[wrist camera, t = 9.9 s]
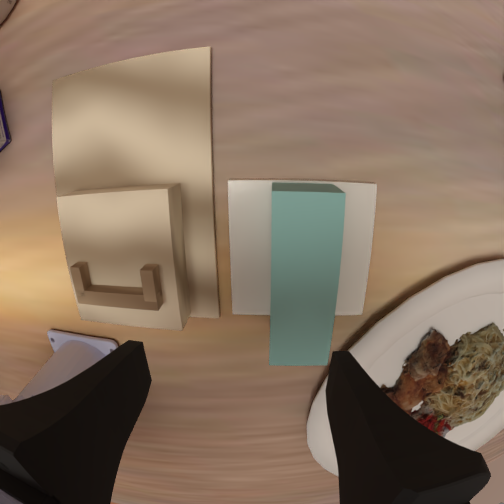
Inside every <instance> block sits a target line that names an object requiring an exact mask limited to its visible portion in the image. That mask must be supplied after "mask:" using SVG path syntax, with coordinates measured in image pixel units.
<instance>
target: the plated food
mask: <svg viewBox="0 0 504 504" xmlns="http://www.w3.org/2000/svg"><path fill="white" fill-rule="evenodd" d="M347 351H349V352H350V353H351V354H352V355H353V357H354V358H355V359H356V360H357V362H358V363H359V364H360V365H361V367H362V368H363V369H364V370H365V371H366V373H367V374H368V375H369V376H370V377H371V378H372V380H373V381H374V382H375V383H376V384H377V385H378V386H379V387H380V388H381V390H382V391H383V392H384V393H385V394H386V395H387V396H388V397H389V398H390V399H391V400H392V401H393V402H394V403H396V404H397V405H398V406H399V407H400V408H401V409H403V410H404V411H405V412H406V413H407V414H409V415H410V416H411V417H412V418H414V419H415V420H417V421H418V422H419V423H421V424H422V425H424V426H425V427H427V428H428V429H430V430H432V431H433V432H435V433H437V434H438V435H440V436H442V437H444V438H446V439H448V440H450V441H452V442H454V443H456V444H458V445H460V446H463V447H465V448H468V449H470V450H473V451H475V450H477V449H478V448H480V447H481V446H482V445H484V444H485V443H487V442H488V441H489V440H491V439H492V438H493V437H494V436H495V435H497V434H498V433H499V432H500V431H501V430H502V429H503V428H504V259H498V260H493V261H487V262H482V263H476V264H474V265H471V266H469V267H467V268H464V269H462V270H459V271H457V272H454V273H452V274H449V275H447V276H444V277H443V278H441V279H439V280H438V281H436V282H434V283H433V284H431V285H429V286H428V287H426V288H424V289H423V290H421V291H419V292H418V293H416V294H414V295H412V296H411V297H409V298H408V299H407V300H405V301H404V302H403V303H402V304H400V305H399V306H398V307H396V308H395V309H394V310H392V311H391V312H390V313H389V314H387V315H386V316H385V317H383V318H382V319H380V320H379V321H378V322H376V323H375V324H374V325H373V326H372V327H371V328H370V329H369V330H368V331H367V332H366V333H365V334H364V335H363V336H362V337H361V338H360V339H359V340H358V341H357V342H356V343H355V344H354V345H353V346H352V347H351V348H349V349H348V350H347ZM328 375H329V374H328ZM328 375H327V377H326V378H325V380H324V382H323V384H322V386H321V387H320V389H319V391H318V393H317V395H316V397H315V398H314V400H313V402H312V405H311V409H310V413H309V417H308V420H307V441H308V446H309V448H310V451H311V453H312V455H313V457H314V459H315V460H316V461H317V462H318V463H319V464H320V465H321V466H322V467H323V468H324V469H325V470H327V471H329V472H331V473H333V474H335V475H336V476H338V465H337V458H336V454H335V449H334V444H333V439H332V434H331V429H330V424H329V420H328V415H327V405H326V392H325V390H326V385H327V380H328ZM338 477H339V476H338Z"/></svg>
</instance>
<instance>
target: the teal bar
mask: <svg viewBox="0 0 504 504" xmlns="http://www.w3.org/2000/svg"><path fill="white" fill-rule="evenodd" d="M345 198H346V193H345V192H343V191H342V190H341V189H339V188H338V187H337V186H335V185H334V184H323V183H282V182H272V222H271V305H270V351H269V365H284V366H307V365H327V364H328V358H329V352H330V346H331V339H332V332H333V325H334V318H335V310H336V302H337V294H338V285H339V275H340V265H341V255H342V243H343V230H344V216H345Z"/></svg>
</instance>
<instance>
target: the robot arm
mask: <svg viewBox="0 0 504 504" xmlns="http://www.w3.org/2000/svg"><path fill="white" fill-rule="evenodd" d="M47 334H48V337H49V340H50V343H51V345H52V348H53V351H54V354H53V355H52V356H51V357H50V359H49V360H48V361H47V362H46V363H45V364H44V365H43V367H42V368H41V369H40V370H39V371H38V372H37V374H36V375H35V376H34V377H33V378H32V380H31V381H30V382H29V383H28V384H27V385H26V387H25V388H24V389H23V390H22V392H21V393H20V394H19V395H18V396H17V398H15V399H14V400H12V399H11V398H10V397H9V396H8V395H0V504H110V502H111V497H112V492H113V487H114V483H115V478H116V475H117V471H118V467H119V464H120V460H121V457H122V454H123V450H124V448H125V445H126V443H127V441H128V438H129V436H130V434H131V432H132V430H133V427H134V425H135V423H136V421H137V419H138V417H139V415H140V412H141V410H142V408H143V406H144V404H145V401H146V398H147V395H148V392H149V388H150V385H151V381H152V379H151V375H150V371H149V367H148V363H147V359H146V355H145V351H144V346H143V342H139V341H131V340H128V341H127V342H125V343H124V344H122V345H121V346H119V347H118V345H117V343H116V342H115V341H114V340H110V339H104V338H97V337H91V336H85V335H79V334H73V333H67V332H62V331H57V330H52V329H50V330H49V331H48V332H47ZM112 349H113V350H114V351H113V350H112ZM325 392H326V405H327V415H328V420H329V424H330V429H331V434H332V439H333V444H334V449H335V454H336V458H337V465H338V476H339V494H340V504H470V502H469V501H470V500H471V499H472V498H473V497H474V496H475V495H476V494H477V493H478V492H479V491H480V490H482V489H483V487H484V486H485V485H486V484H487V483H488V481H489V479H490V477H491V474H490V471H489V469H488V467H487V464H486V462H485V460H484V458H483V456H482V455H481V453H478V452H476V451H473V450H470V449H468V448H465V447H463V446H460V445H458V444H456V443H454V442H452V441H450V440H448V439H446V438H444V437H442V436H440V435H438V434H437V433H435V432H433V431H432V430H430V429H428V428H427V427H425V426H424V425H422V424H421V423H419V422H418V421H417V420H415V419H414V418H412V417H411V416H410V415H409V414H407V413H406V412H405V411H404V410H403V409H401V408H400V407H399V406H398V405H397V404H396V403H394V402H393V401H392V400H391V399H390V398H389V397H388V396H387V395H386V394H385V393H384V392H383V391H382V390H381V388H380V387H379V386H378V385H377V384H376V383H375V382H374V381H373V380H372V378H371V377H370V376H369V375H368V374H367V373H366V371H365V370H364V369H363V368H362V367H361V365H360V364H359V363H358V362H357V360H356V359H355V358H354V357H353V355H352V354H351V353H350V352H349V351H333V353H332V359H331V364H330V370H329V375H328V380H327V385H326V390H325ZM499 504H504V503H499Z"/></svg>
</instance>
